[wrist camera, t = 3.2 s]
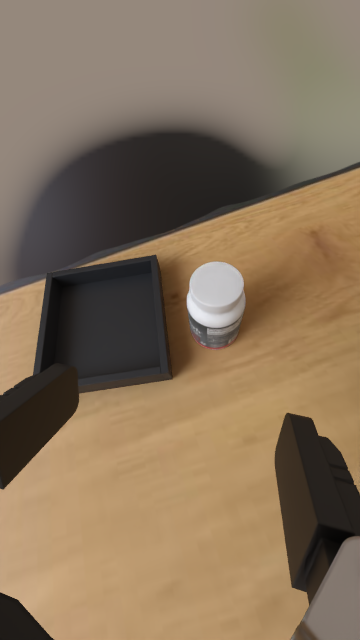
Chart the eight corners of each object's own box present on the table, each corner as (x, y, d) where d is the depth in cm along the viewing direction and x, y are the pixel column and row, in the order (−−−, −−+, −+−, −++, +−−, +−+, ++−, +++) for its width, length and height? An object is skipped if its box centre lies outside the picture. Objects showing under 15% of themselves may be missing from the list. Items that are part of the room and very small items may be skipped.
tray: (160, 268, 36) (156, 254, 33) (172, 379, 29) (168, 372, 26) (58, 285, 36) (46, 273, 33) (46, 398, 29) (30, 393, 26)
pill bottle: (185, 314, 32) (177, 263, 23) (229, 303, 32) (238, 249, 23) (197, 356, 29) (192, 318, 21) (244, 345, 29) (260, 301, 21)
